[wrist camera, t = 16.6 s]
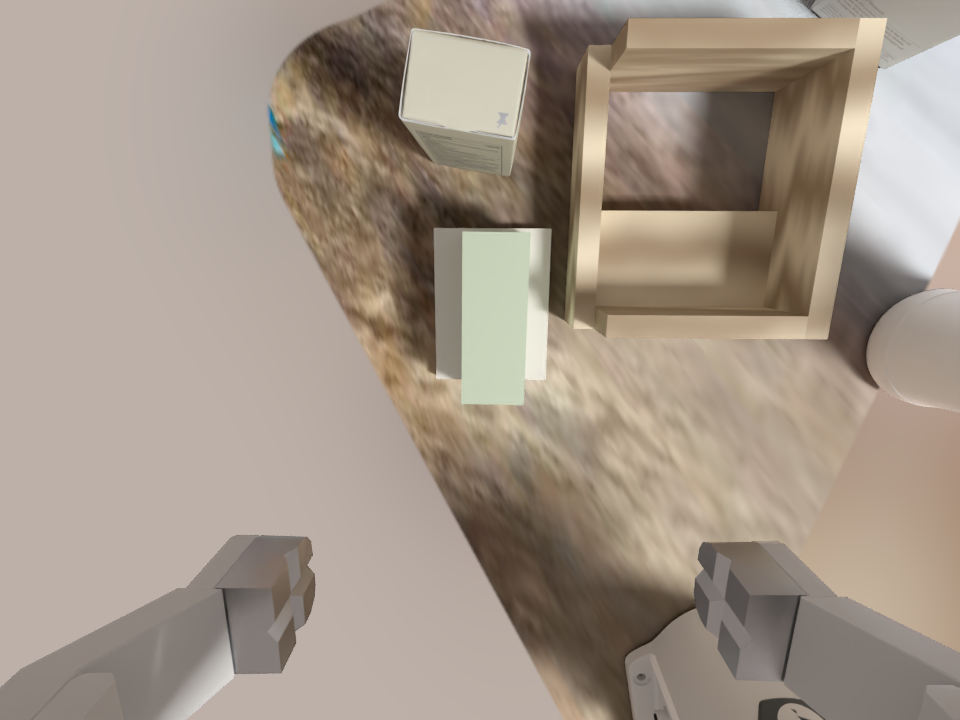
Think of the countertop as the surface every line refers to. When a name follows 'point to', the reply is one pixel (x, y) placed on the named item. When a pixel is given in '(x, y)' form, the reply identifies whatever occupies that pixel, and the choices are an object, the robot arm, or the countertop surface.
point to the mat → (451, 300)
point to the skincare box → (464, 99)
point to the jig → (725, 234)
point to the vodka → (919, 350)
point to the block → (494, 316)
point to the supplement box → (901, 23)
